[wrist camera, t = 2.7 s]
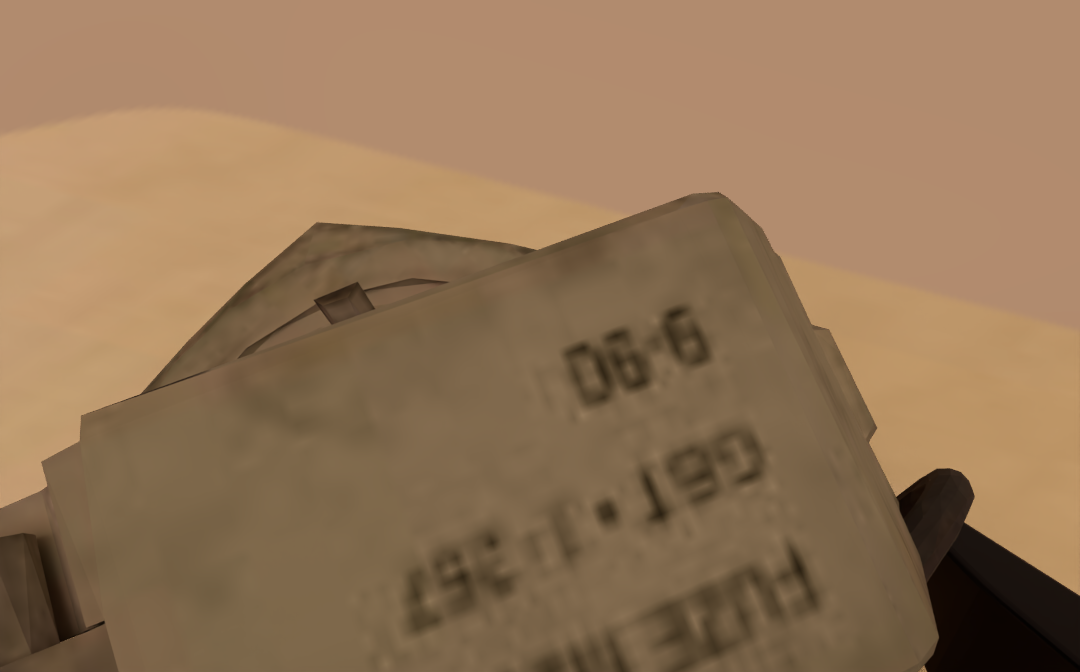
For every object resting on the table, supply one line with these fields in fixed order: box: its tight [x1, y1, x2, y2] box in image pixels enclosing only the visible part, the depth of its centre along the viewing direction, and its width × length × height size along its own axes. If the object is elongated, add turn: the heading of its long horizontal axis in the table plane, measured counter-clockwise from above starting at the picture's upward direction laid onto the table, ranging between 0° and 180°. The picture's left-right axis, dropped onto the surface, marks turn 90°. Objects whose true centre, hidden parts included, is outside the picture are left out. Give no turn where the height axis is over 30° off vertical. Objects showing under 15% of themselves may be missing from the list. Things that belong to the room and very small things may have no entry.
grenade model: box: [0, 192, 975, 672], centre depth 9 cm, size 6×7×15 cm
